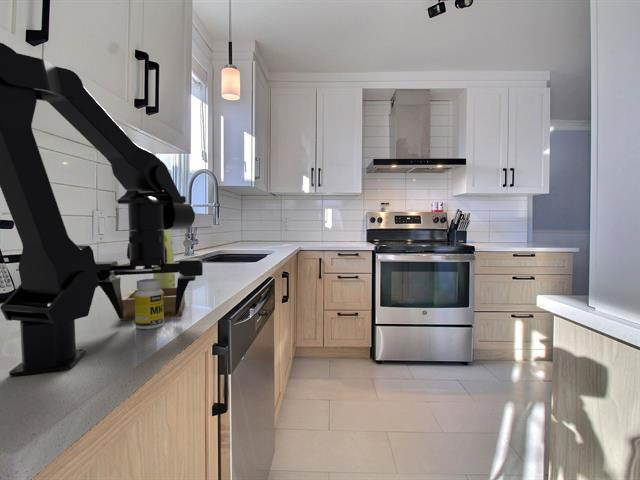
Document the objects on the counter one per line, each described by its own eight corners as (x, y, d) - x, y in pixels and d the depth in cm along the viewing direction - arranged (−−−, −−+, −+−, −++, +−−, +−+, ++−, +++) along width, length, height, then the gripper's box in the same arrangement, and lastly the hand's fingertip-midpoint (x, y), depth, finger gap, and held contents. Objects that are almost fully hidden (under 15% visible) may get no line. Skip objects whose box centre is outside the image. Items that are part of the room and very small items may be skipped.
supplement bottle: (152, 330, 61) (151, 282, 61) (129, 329, 62) (127, 282, 62) (169, 322, 66) (168, 278, 66) (147, 321, 67) (146, 277, 67)
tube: (180, 301, 84) (178, 219, 83) (158, 305, 80) (155, 219, 79) (171, 297, 88) (168, 219, 87) (149, 301, 84) (147, 219, 84)
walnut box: (181, 315, 71) (181, 296, 71) (120, 320, 68) (119, 300, 67) (184, 303, 81) (184, 286, 81) (132, 307, 78) (131, 289, 78)
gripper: (202, 229, 74) (204, 302, 75) (100, 230, 68) (103, 309, 69) (201, 230, 63) (203, 315, 64) (81, 231, 58) (85, 325, 58)
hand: (149, 315), depth 64 cm, fingers open, 9 cm apart
